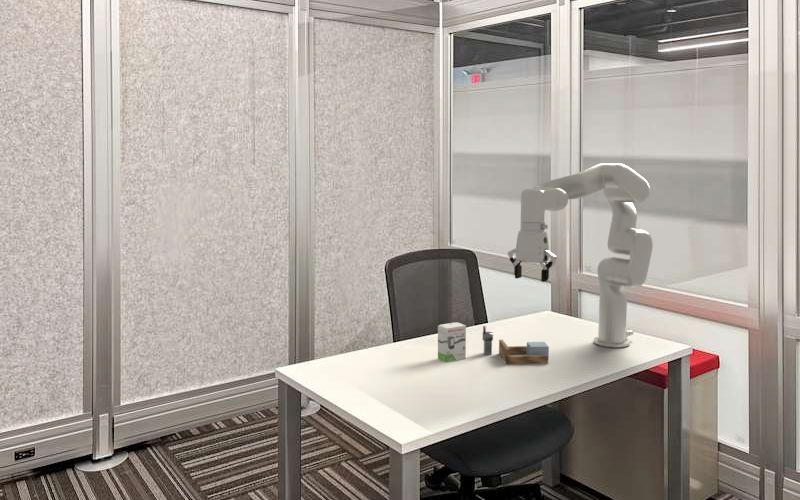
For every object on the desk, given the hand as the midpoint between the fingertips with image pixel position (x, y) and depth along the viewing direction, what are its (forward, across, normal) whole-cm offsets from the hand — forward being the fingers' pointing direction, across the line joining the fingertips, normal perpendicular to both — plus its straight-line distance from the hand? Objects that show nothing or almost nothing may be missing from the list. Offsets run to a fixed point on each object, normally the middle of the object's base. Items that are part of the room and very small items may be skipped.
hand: (531, 279), depth 218 cm
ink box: (+28, +22, +13) cm, 38 cm away
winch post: (+28, +16, 0) cm, 32 cm away
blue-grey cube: (+28, 0, -6) cm, 29 cm away
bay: (+28, +4, -3) cm, 28 cm away
